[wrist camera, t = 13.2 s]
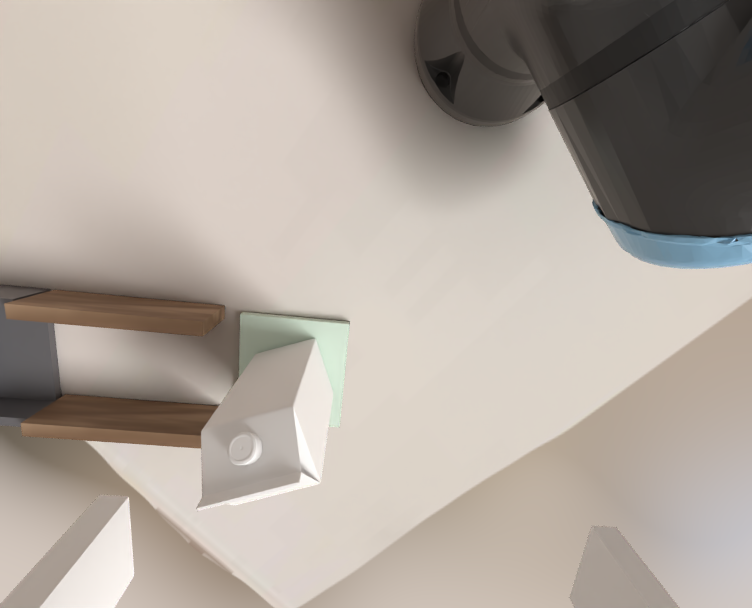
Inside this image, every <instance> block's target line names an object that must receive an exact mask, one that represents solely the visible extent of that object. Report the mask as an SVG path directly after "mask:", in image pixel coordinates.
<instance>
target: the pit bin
mask: <svg viewBox="0 0 752 608" xmlns="http://www.w3.org/2000/svg"><path fill="white" fill-rule="evenodd" d="M48 291H50V289H42V288H32V287H21V286H10V285H0V425H5V426H18V427H21V422H23V421H25V420H26V419H28V418H29V417H31V416H32V415H34V414H35V413H37V412H39V411H40V410H42V409H43V408H45V407H46V406H48V405H50V404H51V403H53V402H54V401H56V400H57V399H59V398H61V388H60V379H59V369H58V360H57V350H56V341H55V331H54V323H46V322H35V321H24V320H12V319H6V313H5V306H4V303H8V302H12V301H15V300H19V299H23V298H26V297H30V296H34V295H37V294H41V293H45V292H48Z"/></svg>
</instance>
